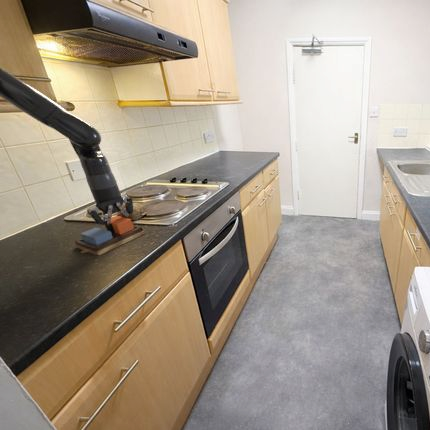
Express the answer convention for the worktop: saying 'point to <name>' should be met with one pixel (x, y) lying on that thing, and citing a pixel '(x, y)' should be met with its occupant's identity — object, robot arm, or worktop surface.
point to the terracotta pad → (121, 224)
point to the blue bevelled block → (96, 236)
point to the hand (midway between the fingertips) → (120, 228)
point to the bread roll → (135, 211)
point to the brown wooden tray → (111, 241)
